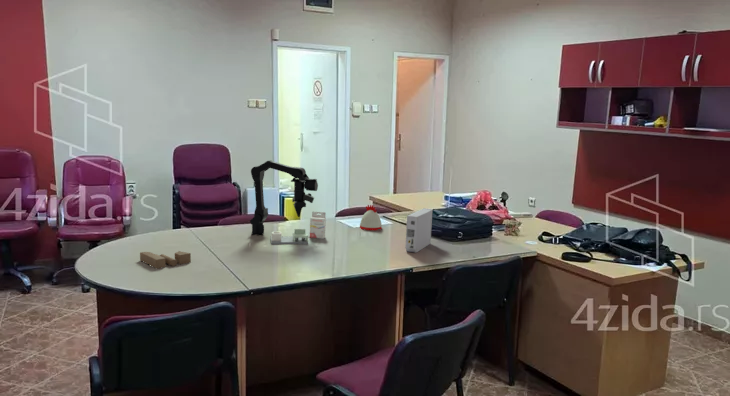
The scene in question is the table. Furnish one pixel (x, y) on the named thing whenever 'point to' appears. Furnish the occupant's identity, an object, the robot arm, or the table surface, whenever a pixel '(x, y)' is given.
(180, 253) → the wooden block set
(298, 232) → the cover
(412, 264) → the table surface
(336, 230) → the table surface
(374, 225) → the cream and red dome
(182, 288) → the table surface
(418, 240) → the game console
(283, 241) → the housing plate
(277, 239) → the white hollow square block
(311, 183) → the robot arm
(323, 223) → the ink cartridge box
